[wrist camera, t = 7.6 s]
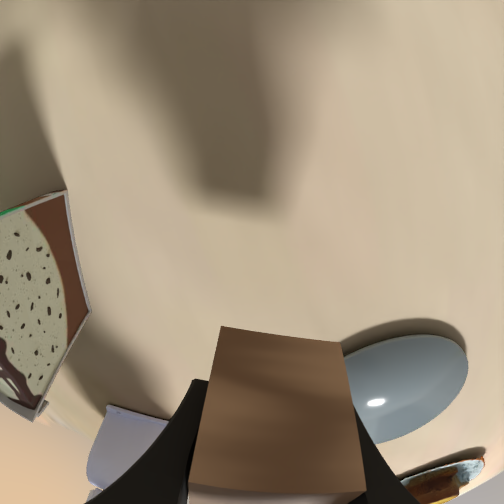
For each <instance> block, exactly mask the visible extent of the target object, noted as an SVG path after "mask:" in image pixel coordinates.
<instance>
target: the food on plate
mask: <svg viewBox="0 0 504 504" xmlns="http://www.w3.org/2000/svg"><path fill="white" fill-rule="evenodd" d="M484 466H485V462H484V458H483V457H482V456H481V458H480V459H479V458H477V459H475V460H474V458H473V459H469V460H462V461H459V462H457V463H454V462H453V463H451V464H449V465H447V464H446V465H443V466H440V467H435V468H433V469H430V470H427V471H425V472H422V473H425V474H422V473H419V474H421V475H419V474H417V475H413V476H411V477H409V478H405V479H404V480H402V481H400V482H401V483H402V484H403V485H404V486H405V488H406V489H407V490H408V491H409V492H410V493H411V494H412V495H413V496H414V497H415V498H416V499H417V500H418V501H419V502H420V503H421V504H443V503H445V502H448V501H450V500H451V499H453V498H455V497H457V496H458V495H459V490H460V489H461V488H462V487H463V486H465V485H467V484H468V483H469V481H471V480H472V479H474V478H475V477H476V476H477V475H478V474H479V473H480V472H481V470H482V469H483V467H484ZM438 468H439V469H438ZM435 469H436V470H435ZM428 471H431V472H428ZM426 472H428V473H426Z"/></svg>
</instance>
